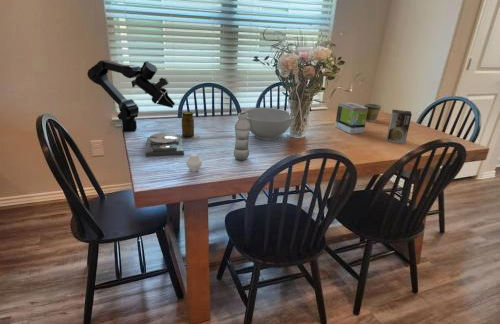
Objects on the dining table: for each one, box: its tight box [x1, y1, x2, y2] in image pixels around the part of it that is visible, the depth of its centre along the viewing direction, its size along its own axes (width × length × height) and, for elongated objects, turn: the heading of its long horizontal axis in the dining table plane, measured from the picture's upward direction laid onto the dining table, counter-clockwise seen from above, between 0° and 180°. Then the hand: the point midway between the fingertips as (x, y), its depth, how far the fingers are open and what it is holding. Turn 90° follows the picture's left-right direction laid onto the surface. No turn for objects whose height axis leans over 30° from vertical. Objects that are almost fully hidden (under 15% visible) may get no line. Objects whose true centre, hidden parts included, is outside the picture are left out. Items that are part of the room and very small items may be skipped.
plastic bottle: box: [233, 112, 251, 161], centre depth 137 cm, size 6×7×20 cm
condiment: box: [178, 111, 200, 140], centre depth 164 cm, size 7×8×12 cm
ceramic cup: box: [363, 103, 382, 123], centre depth 208 cm, size 13×10×10 cm
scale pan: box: [149, 131, 180, 144], centre depth 150 cm, size 13×13×1 cm
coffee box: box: [386, 109, 413, 145], centre depth 169 cm, size 9×6×16 cm
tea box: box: [334, 101, 368, 135], centre depth 185 cm, size 15×10×15 cm, turn 20°
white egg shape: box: [185, 153, 203, 173], centre depth 126 cm, size 6×6×7 cm
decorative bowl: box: [241, 107, 295, 141], centre depth 168 cm, size 27×27×12 cm
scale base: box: [145, 135, 185, 158], centre depth 148 cm, size 16×20×3 cm
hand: (173, 105), depth 163 cm, fingers open, 9 cm apart
